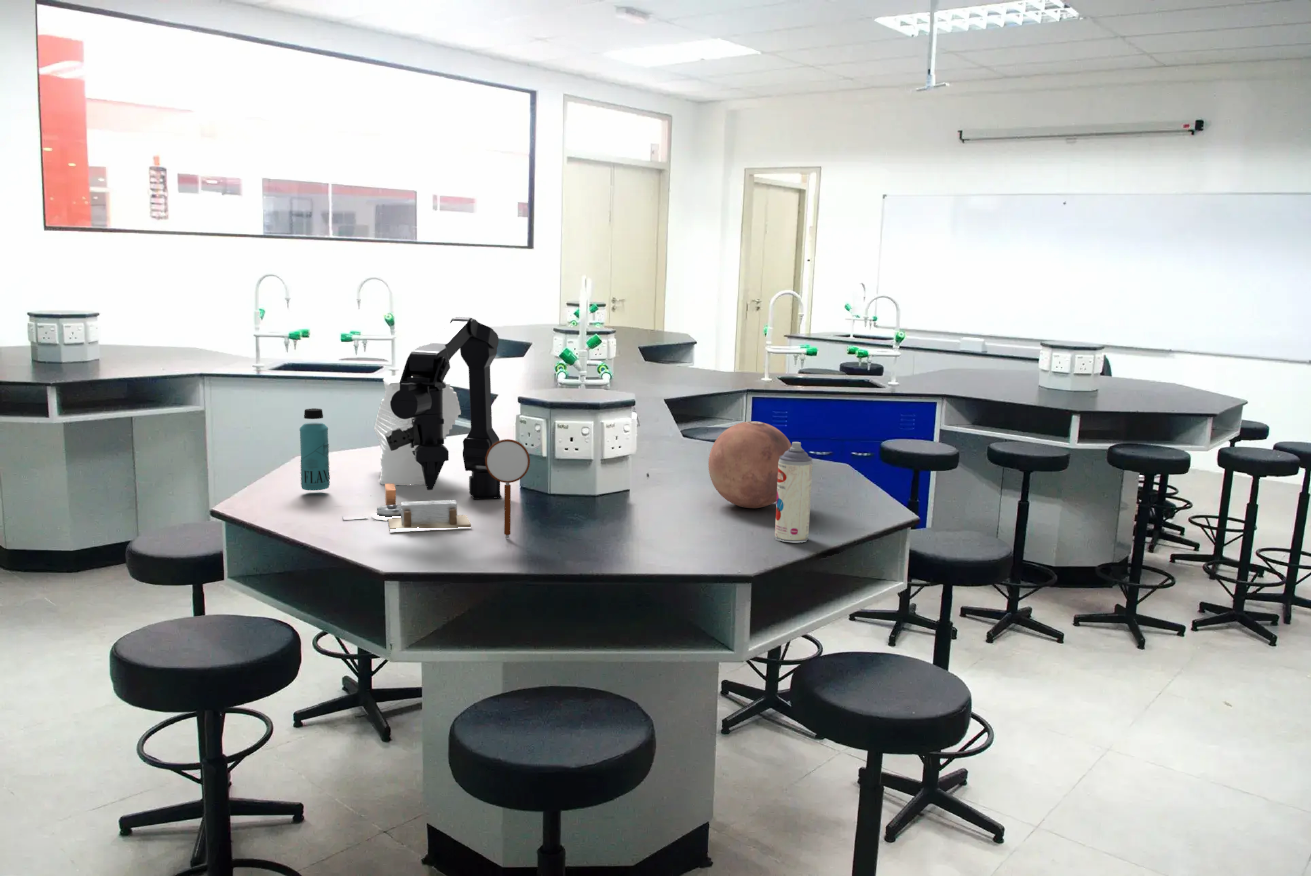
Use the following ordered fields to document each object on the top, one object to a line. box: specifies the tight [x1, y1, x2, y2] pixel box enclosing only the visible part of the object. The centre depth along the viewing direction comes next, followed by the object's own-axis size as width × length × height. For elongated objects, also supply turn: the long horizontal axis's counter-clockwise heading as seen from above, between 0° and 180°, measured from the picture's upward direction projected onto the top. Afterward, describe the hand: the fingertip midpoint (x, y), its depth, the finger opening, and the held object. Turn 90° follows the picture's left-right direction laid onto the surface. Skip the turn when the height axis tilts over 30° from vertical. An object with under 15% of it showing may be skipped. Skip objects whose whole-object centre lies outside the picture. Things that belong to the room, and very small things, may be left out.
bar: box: [400, 499, 458, 525], centre depth 196 cm, size 11×3×4 cm, turn 106°
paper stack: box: [373, 375, 462, 486], centre depth 242 cm, size 21×27×26 cm
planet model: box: [708, 420, 792, 509], centre depth 220 cm, size 20×20×20 cm
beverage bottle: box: [299, 408, 331, 491], centre depth 221 cm, size 6×7×20 cm
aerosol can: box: [774, 441, 813, 541], centre depth 193 cm, size 7×7×20 cm
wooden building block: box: [376, 483, 401, 517], centre depth 207 cm, size 6×13×4 cm, turn 18°
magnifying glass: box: [485, 438, 531, 539], centre depth 187 cm, size 9×2×20 cm, turn 94°
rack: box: [387, 509, 472, 529], centre depth 197 cm, size 16×8×4 cm, turn 108°
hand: (429, 488), depth 196 cm, fingers open, 3 cm apart
